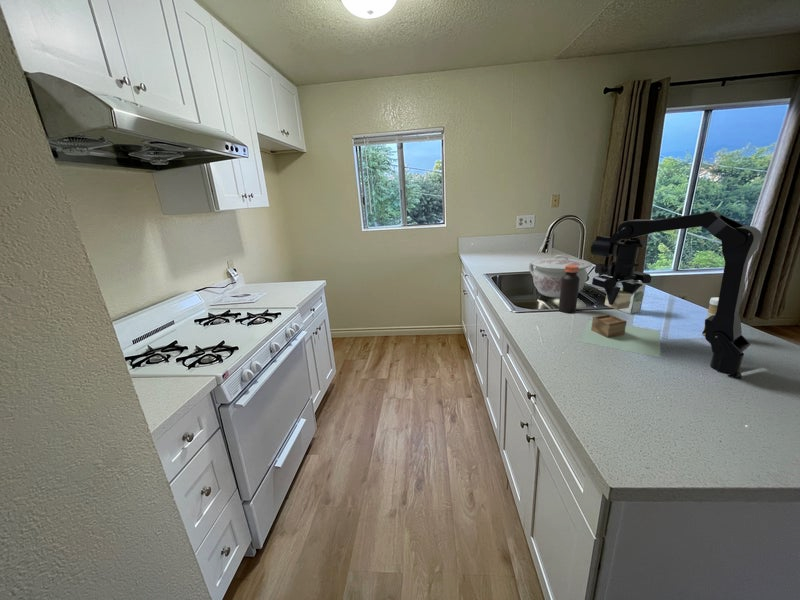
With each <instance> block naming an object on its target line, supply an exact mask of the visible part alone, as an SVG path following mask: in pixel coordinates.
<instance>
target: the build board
mask: <svg viewBox="0 0 800 600" xmlns="http://www.w3.org/2000/svg"><path fill="white" fill-rule="evenodd" d="M592 320H593V319H589V320H588V323H587V324H586V327H585V329H584V331H583V333H582V335H581V337H580V340H579V343H584V344H588V345H593V346H600V347H605V348H609V349H615V350H621V351H625V352H629V353H635V354H641V355H643V356H644V355H645V356H649V357H655V358H661V333H660V332H661V331H660V330H659V329H654V328H653V329H652V328H649V327H648V328H646V327H640V326H634V325H628V324H626V328H625V334H624V335H621V336H616V337H610V338H606V337H604V336H602V335H600V334H598V333H596V332H594V331H591V328H592Z"/></svg>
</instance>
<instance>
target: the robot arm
mask: <svg viewBox="0 0 800 600" xmlns="http://www.w3.org/2000/svg"><path fill="white" fill-rule="evenodd" d="M693 228H704V229H705V230H707V232H709V233H710V234H711V235H712V236H713V237H714V238H717V239H718V240H719V241H721V252H722V256H723V259H724V267H723V274H722V280H721V284H720V291H719V295H718V296H719V297H718V298H719V300H718V306H717V312H716V314H715V315H712V316H710V317H709V318H707V319H706V318H705V320H704V325H705V329H704V328H703V330H704V331H702V332H701V333H703V334H704V333H706V334H705V336H704V338H705V340H706V341H707V342H708V343H709V344H710V346H711V347H710V348H711V352H712V353H713V354H712V357H711V360H710V361H711V362H710V364H709V367H710V368H711V369H712V370H714V371H716V372H717V373H719V374H726V377H731V378H736V379H741V380H742V379H743V376H742V373H741V372H740V369H741V366H742V362H743V358H744V355H745V353H744V351H746V350H747V349H748V348H749V347H750V346H751V343H750V342H749V340H747V339H746V337H744V336H743V334H742V332H743V331H742V320H741V317H740V311H739V310H740V307H741V301H742V296H743V291H744V286H745V281H746V276H747V271H748V266H749V262H750V260H751V258H752V257H753V255H754V253H755V252H756V250H757V248H758V246H759V244H760V242H761V239H762V232H761V230H759V229H758V228H757V227H755V226H752V225H744V224H742V223H740V222H738V221H736V220H734V219H733V218H732V219H731V218H729V217H728V216H725V215H724V214H722V213H721V212H719V211H717V210H708V211H704V212H701V213H694V214H693V213H692V214H688V215H680V216H675V217H667V218H661V219H644V218H643V219H632V220H625V221H623V222H621V223H620V224H619V225H618V227H617V230H616V231H615V232H614V233H613V234H612V235H611V236H605V235H596V237H595V240H594V241H593V242H592V245H591V246H590V253H591V255H593V256H599V257H601V256H602V257H606V258H611V257H613V256H614V255H615V258H614V260H611V262H610V264H609V265H605V264H604V263H598V264H595V266H594V272H595V274H598V275H597V276H596V275H595V276H594V277H593V278H592V281H591V285H593V286H596V287H600V288H603V289H604V291H605V293H606V294H607V298H608V302H609V304H610V305H613V303H614V301H615V299H616V297H617V295H618V293H619V291H620V290H622V287H620V286H619V283H621V285H623V291H624V292H627V293H631V294H632V295H633V293H634V292H635V291H636V290H637V289H638V288H639V287H640V286H642V284H639V280H641V281H642V283H644V284H645V283H646V284H651V282H652V275H651V274H650V273H645V272H643V271H635V268H636V267H639V265H640V262H637V257H638V254H639V253H638V252H639V248H644V247H647V246H648V243H646V242H645V241H644V239H643V238H639V237H643V236H646V235H650V234H654V233H659V232H667V231H677V230H684V229H693ZM635 238H639V239H637V240H631V239H635ZM624 240H625V241H624ZM621 241H624V242H621ZM632 295H631V296H632ZM703 334H702V335H703Z"/></svg>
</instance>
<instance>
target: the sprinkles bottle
mask: <svg viewBox="0 0 800 600" xmlns="http://www.w3.org/2000/svg"><path fill="white" fill-rule="evenodd" d="M718 300H719V297H717V296H715V297H711V298H710V300H709V306H708V310H707V313H706V317H705V319H707V318H709V317H710V316H712V315H715V314H716V312H717V306H718ZM704 329H705V324H704V327H703V331H704ZM703 331H702V332H703ZM702 332H701V333H702ZM705 334H706V333H704V334H703V333H702V335H703V336H704V337H705Z"/></svg>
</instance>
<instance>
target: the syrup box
mask: <svg viewBox="0 0 800 600" xmlns="http://www.w3.org/2000/svg"><path fill="white" fill-rule="evenodd" d="M639 284H642V286H640V287H639V288H638V289H637V290H636V291H635V292H634V293H633V295H632V296H631V300H630V305H629V308H624V309H618V311H619V312H623V313H625V314H629V315H632V314H636V313H640V312H641V310H642V304H643V300H644V295H645V290H646V285H647V283H645V284H644V283H642V281H641V280H639ZM621 285H622V284H621ZM621 291H623V285H622V287H621Z"/></svg>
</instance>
